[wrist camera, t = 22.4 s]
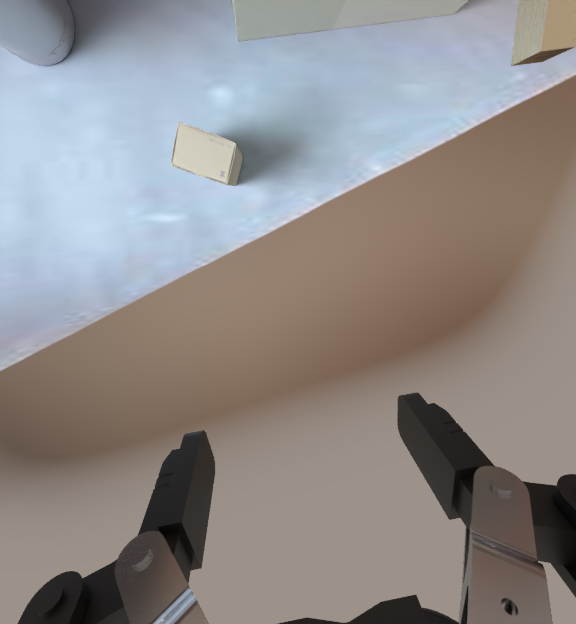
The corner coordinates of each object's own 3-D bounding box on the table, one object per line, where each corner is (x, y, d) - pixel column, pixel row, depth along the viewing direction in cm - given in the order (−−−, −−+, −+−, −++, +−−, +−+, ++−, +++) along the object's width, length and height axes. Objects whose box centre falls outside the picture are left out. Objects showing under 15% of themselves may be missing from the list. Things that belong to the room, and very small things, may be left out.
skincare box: (244, 155, 42) (239, 142, 31) (236, 187, 43) (229, 186, 32) (199, 138, 40) (177, 118, 29) (192, 172, 42) (169, 165, 31)
